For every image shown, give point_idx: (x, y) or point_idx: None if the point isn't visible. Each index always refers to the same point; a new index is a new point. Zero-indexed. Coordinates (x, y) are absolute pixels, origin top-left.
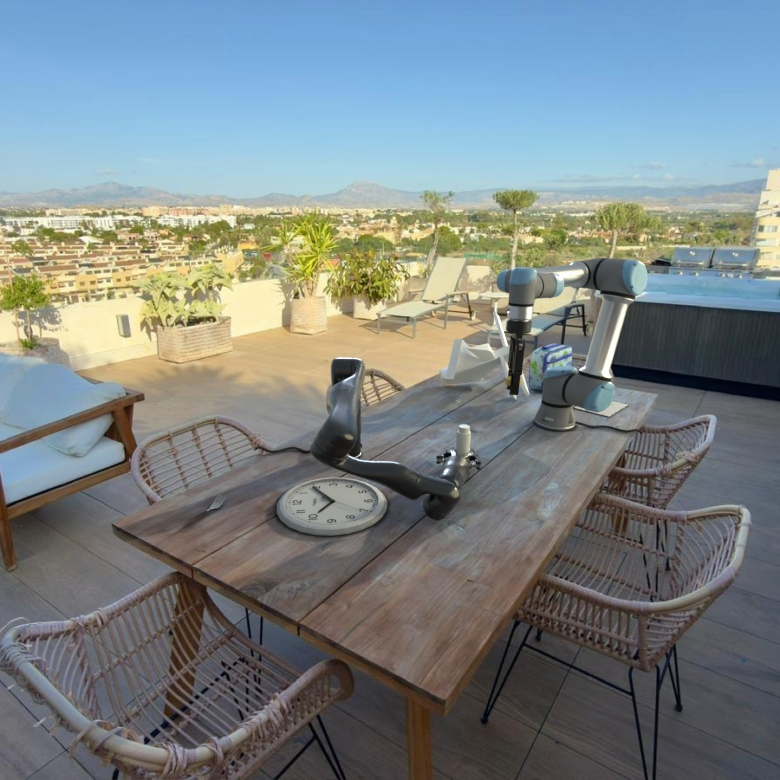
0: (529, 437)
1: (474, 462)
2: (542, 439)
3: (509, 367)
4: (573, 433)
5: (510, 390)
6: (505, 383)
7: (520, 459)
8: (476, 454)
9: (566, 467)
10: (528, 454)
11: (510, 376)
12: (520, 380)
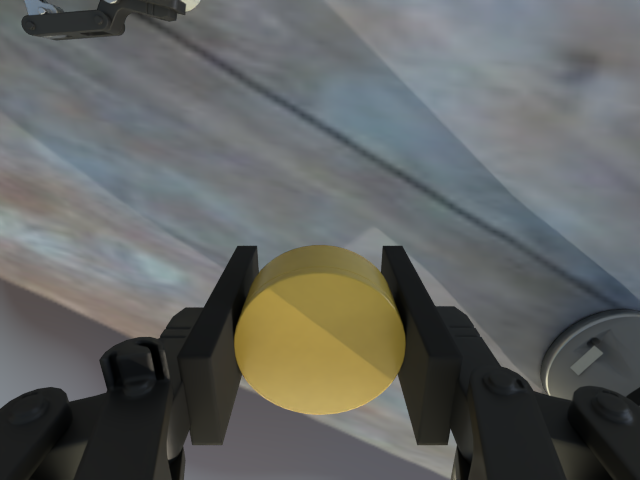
0: (500, 271)
1: (47, 6)
2: (481, 305)
3: (468, 389)
4: None
5: (230, 264)
6: (319, 246)
7: (321, 214)
8: (97, 18)
9: None
10: (361, 244)
11: (393, 328)
12: (267, 395)
